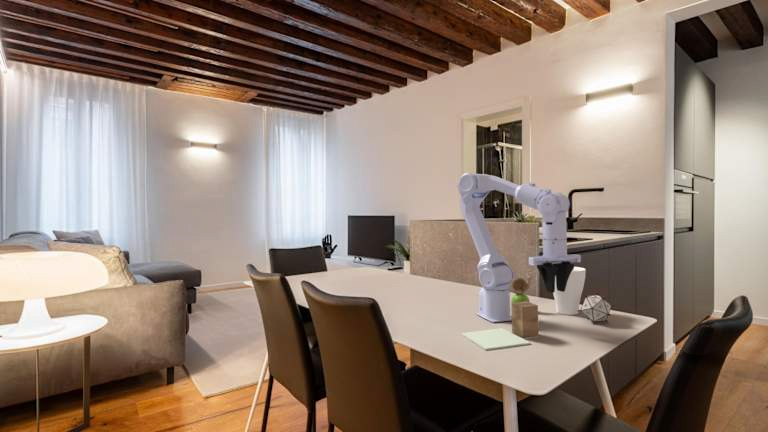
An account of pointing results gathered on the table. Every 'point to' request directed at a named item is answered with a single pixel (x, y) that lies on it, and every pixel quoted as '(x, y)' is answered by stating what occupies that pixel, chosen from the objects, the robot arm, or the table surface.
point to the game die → (595, 308)
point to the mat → (495, 339)
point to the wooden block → (525, 320)
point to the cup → (570, 293)
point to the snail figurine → (521, 289)
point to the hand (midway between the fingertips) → (555, 291)
